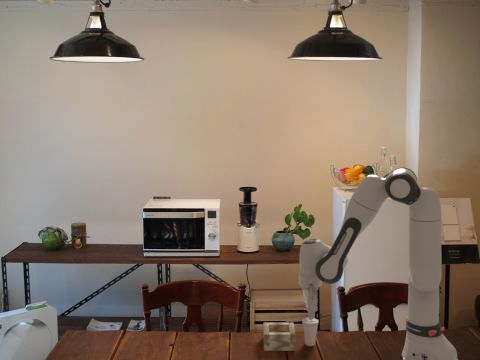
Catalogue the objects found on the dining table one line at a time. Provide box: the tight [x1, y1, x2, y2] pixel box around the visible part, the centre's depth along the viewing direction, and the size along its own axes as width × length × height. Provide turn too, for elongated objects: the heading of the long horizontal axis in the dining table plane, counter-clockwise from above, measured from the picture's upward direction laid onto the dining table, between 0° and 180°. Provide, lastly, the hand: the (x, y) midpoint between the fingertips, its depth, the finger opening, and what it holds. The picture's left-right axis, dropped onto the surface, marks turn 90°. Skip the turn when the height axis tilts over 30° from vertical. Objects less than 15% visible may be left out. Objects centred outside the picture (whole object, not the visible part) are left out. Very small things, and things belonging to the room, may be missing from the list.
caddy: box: [262, 322, 296, 352], centre depth 246 cm, size 12×12×6 cm
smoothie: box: [301, 317, 319, 347], centre depth 245 cm, size 6×6×14 cm
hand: (309, 314), depth 244 cm, fingers open, 8 cm apart
